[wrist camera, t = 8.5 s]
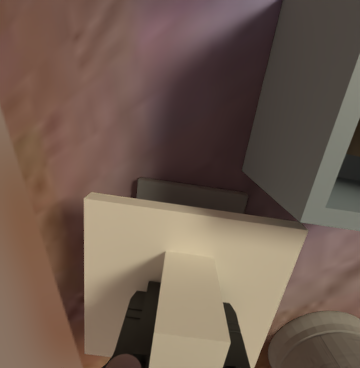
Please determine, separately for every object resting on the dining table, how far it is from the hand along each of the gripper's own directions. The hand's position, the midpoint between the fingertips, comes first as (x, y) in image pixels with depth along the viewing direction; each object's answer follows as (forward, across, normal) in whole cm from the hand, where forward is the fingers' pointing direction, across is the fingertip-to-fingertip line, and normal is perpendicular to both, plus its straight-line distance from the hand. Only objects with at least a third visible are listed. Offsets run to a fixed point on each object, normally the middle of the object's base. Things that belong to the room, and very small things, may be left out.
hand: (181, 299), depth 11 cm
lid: (+1, 0, 0) cm, 1 cm away
